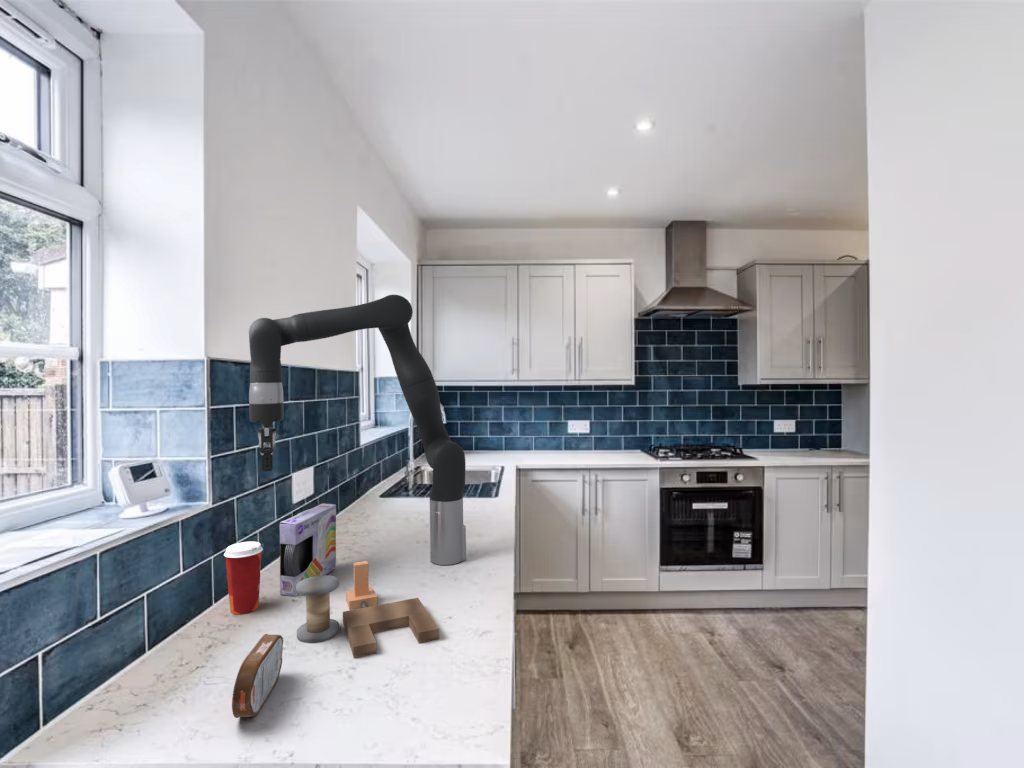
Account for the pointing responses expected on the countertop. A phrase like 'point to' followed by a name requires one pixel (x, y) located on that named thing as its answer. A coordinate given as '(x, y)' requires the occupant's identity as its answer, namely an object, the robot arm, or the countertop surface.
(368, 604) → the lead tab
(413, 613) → the brown flat u-shaped block
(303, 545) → the cake pan box
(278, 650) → the tin
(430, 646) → the countertop surface
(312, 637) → the bobbin
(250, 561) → the paper cup
